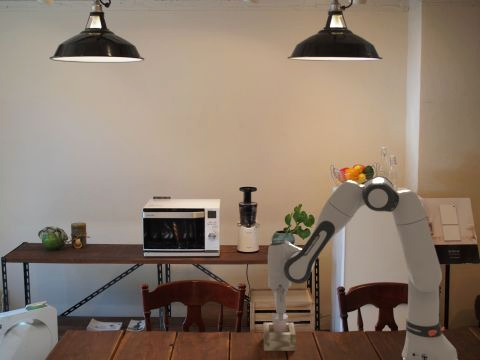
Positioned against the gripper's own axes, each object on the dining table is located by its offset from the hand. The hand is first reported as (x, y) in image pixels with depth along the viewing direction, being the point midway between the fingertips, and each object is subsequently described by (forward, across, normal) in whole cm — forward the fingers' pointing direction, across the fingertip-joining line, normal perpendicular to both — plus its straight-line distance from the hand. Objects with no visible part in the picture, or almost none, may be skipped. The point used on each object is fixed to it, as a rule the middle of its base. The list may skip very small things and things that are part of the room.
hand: (280, 315), depth 244 cm
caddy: (+12, 0, +1) cm, 12 cm away
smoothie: (+10, +2, 0) cm, 10 cm away
